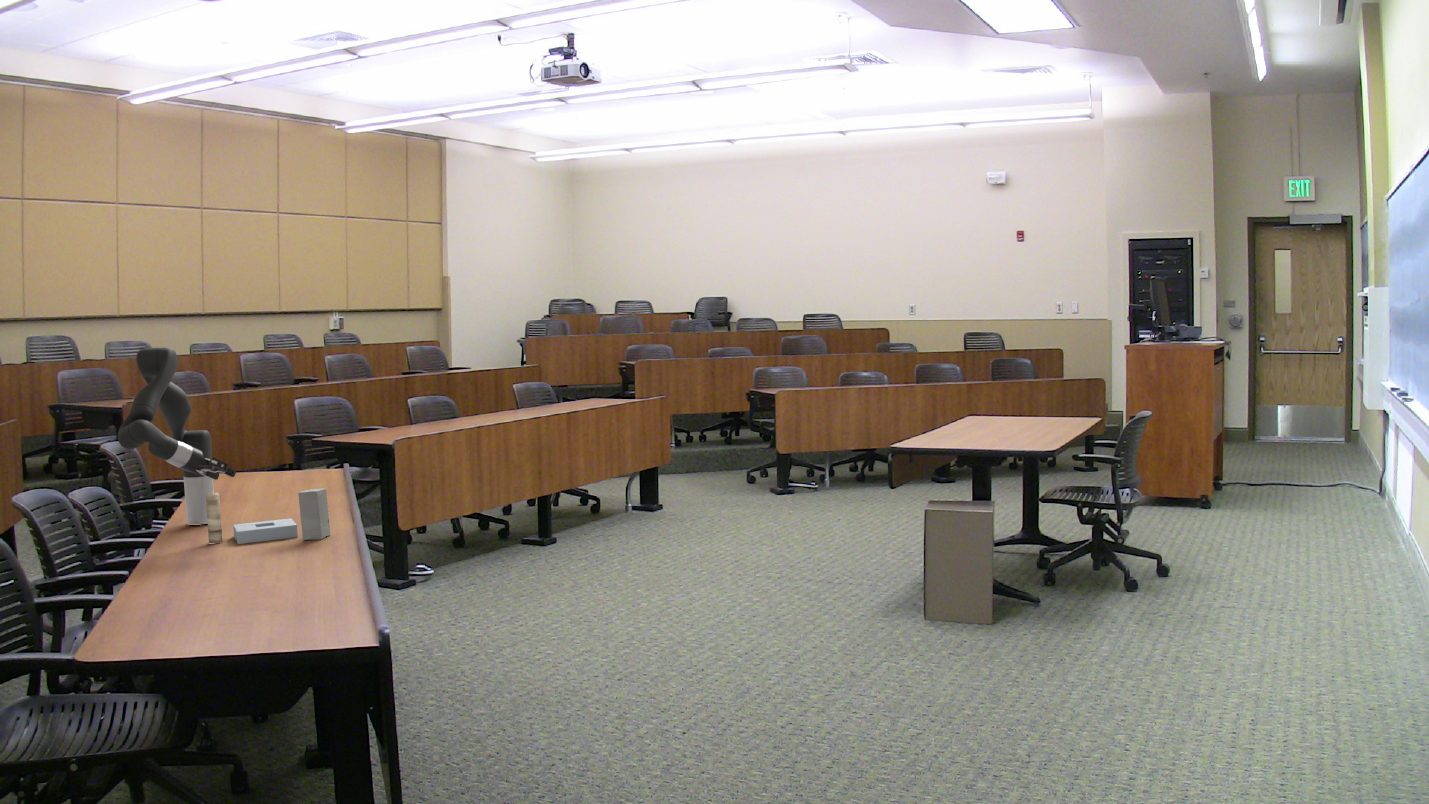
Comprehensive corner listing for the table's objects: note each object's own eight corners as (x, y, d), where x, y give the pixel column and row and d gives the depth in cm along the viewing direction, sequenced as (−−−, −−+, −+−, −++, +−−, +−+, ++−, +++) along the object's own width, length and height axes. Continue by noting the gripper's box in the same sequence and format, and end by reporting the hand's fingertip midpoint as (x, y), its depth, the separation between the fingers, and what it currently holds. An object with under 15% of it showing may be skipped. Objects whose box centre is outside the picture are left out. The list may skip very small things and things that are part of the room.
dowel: (208, 542, 349) (204, 493, 347) (222, 540, 351) (218, 492, 349) (209, 544, 345) (205, 495, 344) (223, 543, 347) (219, 493, 346)
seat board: (234, 536, 357) (233, 524, 356) (291, 529, 365) (291, 518, 365) (237, 544, 344) (237, 531, 344) (297, 536, 353) (296, 524, 353)
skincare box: (321, 540, 347) (318, 491, 345) (299, 540, 347) (296, 492, 345) (331, 534, 355) (328, 487, 354) (310, 535, 355) (307, 487, 354)
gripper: (201, 442, 337) (243, 462, 349) (173, 447, 344) (216, 467, 356) (193, 464, 334) (236, 484, 346) (165, 469, 341) (208, 488, 353)
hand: (226, 475), depth 351 cm, fingers open, 8 cm apart
